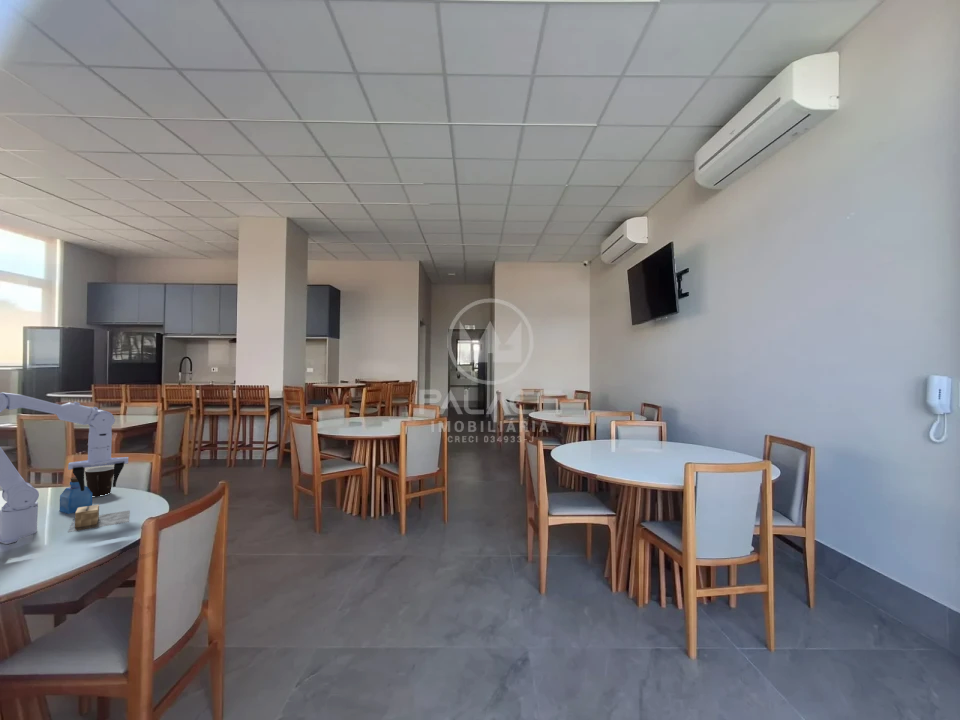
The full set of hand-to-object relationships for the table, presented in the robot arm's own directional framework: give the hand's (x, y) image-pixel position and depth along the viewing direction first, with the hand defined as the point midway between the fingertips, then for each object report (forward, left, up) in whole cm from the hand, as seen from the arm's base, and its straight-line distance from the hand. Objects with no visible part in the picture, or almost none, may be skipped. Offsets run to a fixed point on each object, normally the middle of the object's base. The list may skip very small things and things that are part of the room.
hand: (98, 488), depth 137 cm
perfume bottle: (-15, +1, -11) cm, 18 cm away
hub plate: (+5, -1, -10) cm, 11 cm away
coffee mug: (-30, +14, -11) cm, 35 cm away
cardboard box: (+3, -4, -9) cm, 11 cm away
